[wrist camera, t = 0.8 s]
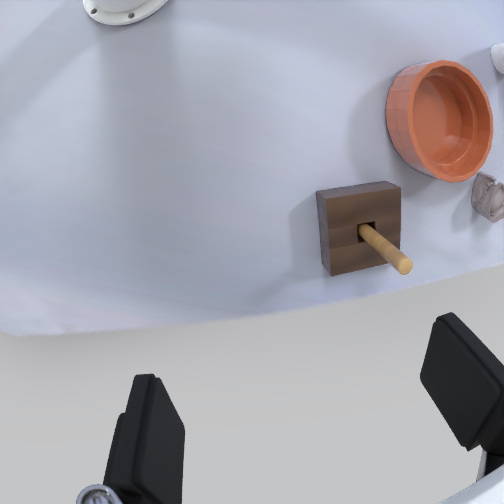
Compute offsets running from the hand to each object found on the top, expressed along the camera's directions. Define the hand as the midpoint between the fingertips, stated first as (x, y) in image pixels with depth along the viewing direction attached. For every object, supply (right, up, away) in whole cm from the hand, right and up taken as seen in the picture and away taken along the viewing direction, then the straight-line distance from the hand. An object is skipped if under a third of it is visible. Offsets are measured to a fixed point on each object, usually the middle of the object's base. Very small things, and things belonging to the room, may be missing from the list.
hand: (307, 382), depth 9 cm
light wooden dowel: (+13, +8, +32) cm, 36 cm away
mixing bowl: (+24, +23, +27) cm, 43 cm away
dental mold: (+38, +14, +33) cm, 52 cm away
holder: (+13, +8, +32) cm, 36 cm away
